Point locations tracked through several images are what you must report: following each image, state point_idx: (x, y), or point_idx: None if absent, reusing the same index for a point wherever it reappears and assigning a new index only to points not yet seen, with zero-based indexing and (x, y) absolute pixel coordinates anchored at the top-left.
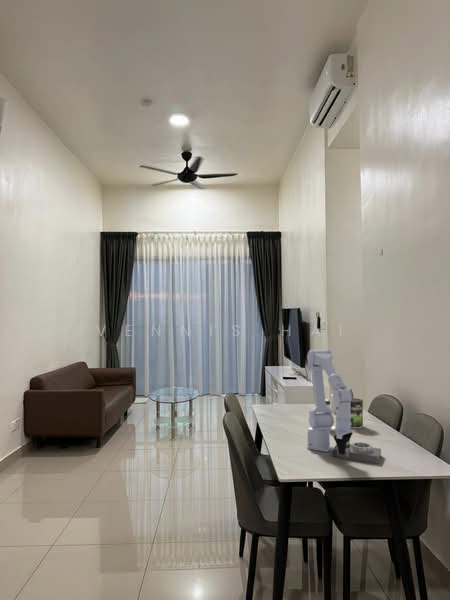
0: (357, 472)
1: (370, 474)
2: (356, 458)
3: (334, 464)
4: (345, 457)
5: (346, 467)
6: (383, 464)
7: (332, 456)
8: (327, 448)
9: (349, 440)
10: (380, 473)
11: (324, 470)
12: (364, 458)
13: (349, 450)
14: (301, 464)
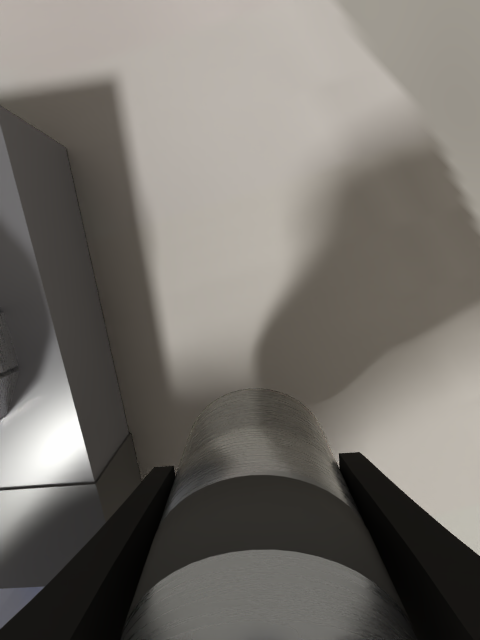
0: (395, 246)
1: (389, 120)
2: (98, 346)
3: None
4: (314, 419)
5: (320, 362)
6: (34, 83)
7: None
8: (33, 594)
9: (29, 628)
10: (310, 31)
11: (472, 476)
12: (71, 272)
13: (258, 439)
14: None
